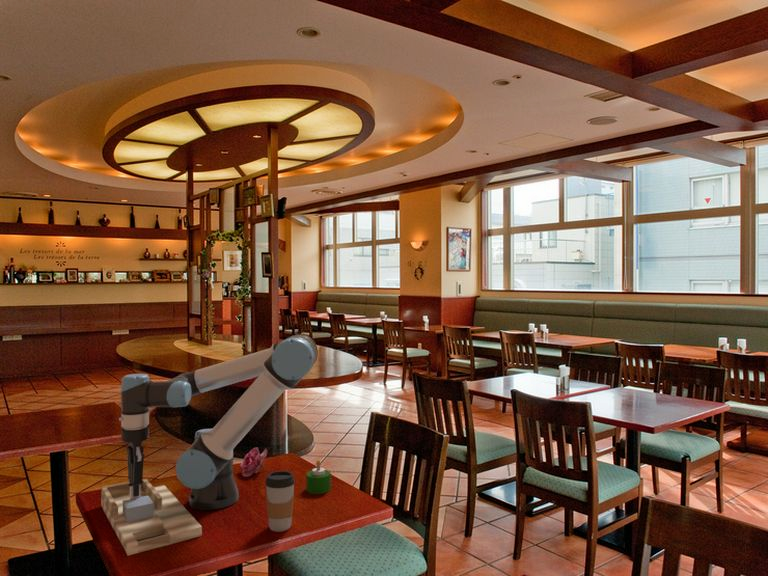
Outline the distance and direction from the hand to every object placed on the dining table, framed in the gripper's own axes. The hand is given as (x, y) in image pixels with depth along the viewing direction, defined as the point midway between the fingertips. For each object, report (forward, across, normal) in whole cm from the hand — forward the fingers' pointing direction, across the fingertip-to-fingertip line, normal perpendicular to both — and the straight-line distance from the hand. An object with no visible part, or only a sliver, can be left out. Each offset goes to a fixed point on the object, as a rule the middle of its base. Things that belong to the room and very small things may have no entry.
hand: (135, 505), depth 163 cm
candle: (+4, +10, +56) cm, 57 cm away
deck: (+4, +3, +3) cm, 6 cm away
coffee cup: (+4, +30, +33) cm, 45 cm away
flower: (+4, -18, +44) cm, 48 cm away
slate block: (+1, +4, 0) cm, 4 cm away
